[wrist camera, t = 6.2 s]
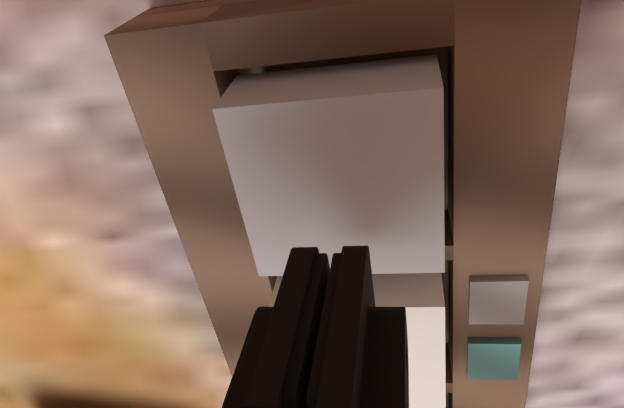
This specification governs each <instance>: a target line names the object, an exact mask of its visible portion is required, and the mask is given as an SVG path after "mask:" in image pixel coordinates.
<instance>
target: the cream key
mask: <svg viewBox="0 0 624 408" xmlns="http://www.w3.org/2000/svg"><path fill="white" fill-rule="evenodd" d="M282 277H283V276H277V279H276V282H275V286H274V289H273V293H272V296H271V300H270V303H269V307H274V303H275V300H276V297H277V293H278V290H279V287H280V284H281V280H282ZM372 280H373V289H374V298H375V307H405V309H406V321H407V337H408V366H409V408H446V364H445V302H444V293H443V284H442V275H441V273H400V274H372Z"/></svg>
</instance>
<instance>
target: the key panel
mask: <svg viewBox="0 0 624 408" xmlns="http://www.w3.org/2000/svg"><path fill="white" fill-rule="evenodd" d="M580 4H581V0H209V1H202V2H195V3H188V4H180V5H173V6H166V7H159V8H152V9H148V10H146V11H144V12H143V13H141V14H139V15H138V16H136V17H134V18H133V19H131V20H129V21H128V22H126V23H124V24H123V25H121V26H119V27H118V28H116V29H114V30H113V31H111V32H109V33H108V34H106V35H104V37H105V39H106V42H107V45H108V47H109V50H110V53H111V55H112V58H113V61H114V63H115V66H116V69H117V71H118V74H119V77H120V79H121V82H122V85H123V87H124V90H125V93H126V95H127V98H128V101H129V103H130V106H131V109H132V111H133V114H134V117H135V119H136V122H137V125H138V127H139V130H140V133H141V135H142V138H143V141H144V143H145V146H146V148H147V151H148V154H149V156H150V159H151V162H152V164H153V167H154V170H155V172H156V175H157V178H158V180H159V183H160V186H161V188H162V191H163V194H164V196H165V199H166V202H167V204H168V207H169V210H170V212H171V215H172V218H173V220H174V223H175V226H176V228H177V231H178V234H179V236H180V239H181V242H182V244H183V247H184V250H185V252H186V255H187V258H188V260H189V263H190V265H191V268H192V271H193V273H194V276H195V279H196V281H197V284H198V287H199V289H200V292H201V295H202V297H203V300H204V303H205V305H206V308H207V311H208V313H209V316H210V319H211V321H212V324H213V327H214V329H215V332H216V335H217V337H218V340H219V343H220V345H221V348H222V351H223V353H224V356H225V359H226V361H227V364H228V367H229V369H230V372H231V375H232V377H233V374H234V371H235V368H236V365H237V362H238V359H239V356H240V353H241V350H242V348H243V345H244V342H245V339H246V336H247V333H248V330H249V327H250V324H251V321H252V318H253V315H254V313H255V311H256V309H257V308H258V307H269V303H270V300H271V296H272V293H273V289H274V286H275V282H276V279H277V276H259V274H258V271H257V267H256V264H255V260H254V257H253V253H252V249H251V246H250V242H249V239H248V235H247V232H246V228H245V225H244V221H243V217H242V214H241V210H240V207H239V203H238V200H237V196H236V192H235V189H234V185H233V182H232V178H231V175H230V171H229V168H228V164H227V160H226V157H225V153H224V150H223V146H222V143H221V139H220V136H219V132H218V128H217V125H216V121H215V118H214V114H213V111H212V108H213V107H214V106H215V104H216V103H217V102H218V100H219V99H220V98H221V96H222V95H223V94H224V92H225V91H226V90H227V88H228V87H229V86H230V84H231V83H232V82H233V80H234V79H235V77H236V76H237V75H244V74H254V73H263V72H273V71H282V70H292V69H301V68H311V67H320V66H330V65H339V64H349V63H358V62H368V61H377V60H387V59H396V58H406V57H415V56H425V55H434V54H437V59H438V64H439V69H440V73H441V78H442V83H443V87H444V221H445V273H441V275H442V284H443V293H444V302H445V364H446V408H525V404H526V397H527V389H528V382H529V375H530V368H531V360H532V353H533V346H534V338H535V331H536V324H537V317H538V309H539V302H540V295H541V288H542V280H543V273H544V266H545V259H546V251H547V244H548V237H549V230H550V222H551V215H552V208H553V201H554V193H555V186H556V179H557V171H558V164H559V157H560V150H561V142H562V135H563V128H564V121H565V113H566V106H567V99H568V92H569V84H570V77H571V70H572V63H573V55H574V48H575V41H576V33H577V26H578V19H579V12H580Z"/></svg>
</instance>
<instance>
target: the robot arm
mask: <svg viewBox="0 0 624 408" xmlns="http://www.w3.org/2000/svg"><path fill="white" fill-rule="evenodd" d="M222 408H409V366H408V337H407V321H406V309H405V307H375V298H374V289H373V280H372V270H371V261H370V252H369V247H368V246H343V247H342V252H341V253H333V256H332V262H331V267H330V266H329V260H328V255H327V253H319V250H318V248H317V247H293V248H292V249H291V251H290V254H289V257H288V261H287V264H286V267H285V270H284V274H283V277H282V280H281V284H280V287H279V290H278V293H277V297H276V300H275V303H274V307H258V308H257V309H256V311H255V313H254V315H253V318H252V321H251V324H250V327H249V330H248V333H247V336H246V339H245V342H244V345H243V348H242V350H241V353H240V356H239V359H238V362H237V365H236V368H235V371H234V374H233V377H232V380H231V382H230V385H229V388H228V391H227V394H226V397H225V400H224V403H223V406H222Z"/></svg>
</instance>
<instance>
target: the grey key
mask: <svg viewBox="0 0 624 408" xmlns="http://www.w3.org/2000/svg"><path fill="white" fill-rule="evenodd" d="M212 111H213V114H214V118H215V121H216V125H217V128H218V132H219V136H220V139H221V143H222V146H223V150H224V153H225V157H226V160H227V164H228V168H229V171H230V175H231V178H232V182H233V185H234V189H235V192H236V196H237V200H238V203H239V207H240V210H241V214H242V217H243V221H244V225H245V228H246V232H247V235H248V239H249V242H250V246H251V249H252V253H253V257H254V260H255V264H256V267H257V271H258V274H259V276H283V274H284V270H285V267H286V264H287V261H288V257H289V254H290V251H291V249H292V248H293V247H317V248H318V250H319V253H327V255H328V260H329V266H330V267H331V262H332V256H333V253H341V252H342V247H343V246H368V247H369V252H370V261H371V270H372V274H400V273H445V221H444V87H443V83H442V78H441V73H440V69H439V64H438V59H437V54H434V55H425V56H415V57H406V58H396V59H387V60H377V61H368V62H358V63H349V64H339V65H330V66H320V67H311V68H301V69H292V70H282V71H273V72H263V73H254V74H244V75H237V76H236V77H235V79H234V80H233V82H232V83H231V84H230V86H229V87H228V88H227V90H226V91H225V92H224V94H223V95H222V96H221V98H220V99H219V100H218V102H217V103H216V104H215V106H214V107H213V108H212Z"/></svg>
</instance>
